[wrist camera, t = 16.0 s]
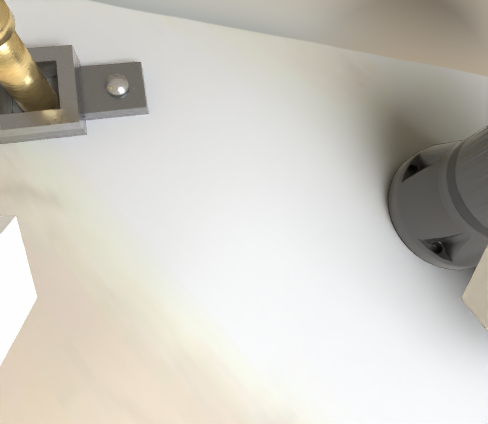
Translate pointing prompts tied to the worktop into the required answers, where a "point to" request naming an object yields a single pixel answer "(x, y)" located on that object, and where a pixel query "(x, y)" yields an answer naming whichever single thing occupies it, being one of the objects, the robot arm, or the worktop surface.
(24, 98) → the brass pin
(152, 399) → the worktop surface
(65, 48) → the grey flange mount bracket
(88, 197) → the worktop surface
